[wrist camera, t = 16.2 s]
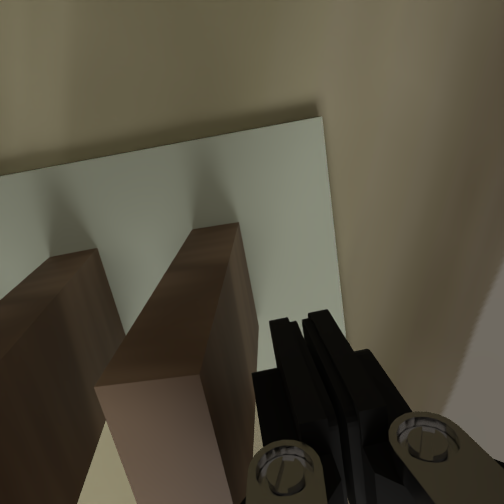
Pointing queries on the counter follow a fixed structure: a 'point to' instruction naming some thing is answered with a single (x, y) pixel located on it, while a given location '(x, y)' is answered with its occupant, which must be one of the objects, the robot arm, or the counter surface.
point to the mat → (187, 218)
